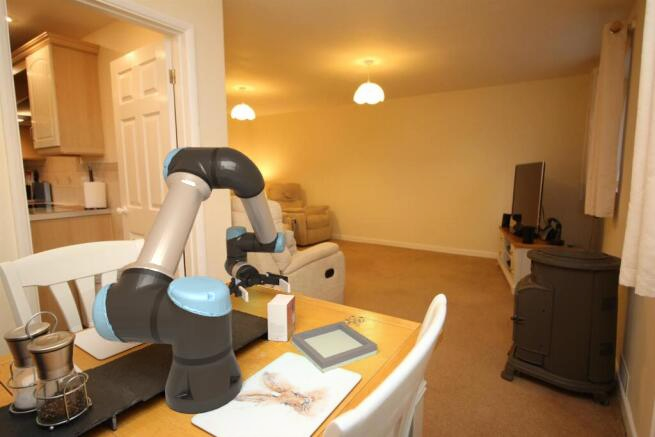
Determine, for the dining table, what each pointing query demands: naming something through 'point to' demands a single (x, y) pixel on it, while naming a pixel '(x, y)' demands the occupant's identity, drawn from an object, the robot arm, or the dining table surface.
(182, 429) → the dining table surface
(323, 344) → the tray
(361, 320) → the dice set
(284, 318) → the small box
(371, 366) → the dining table surface
